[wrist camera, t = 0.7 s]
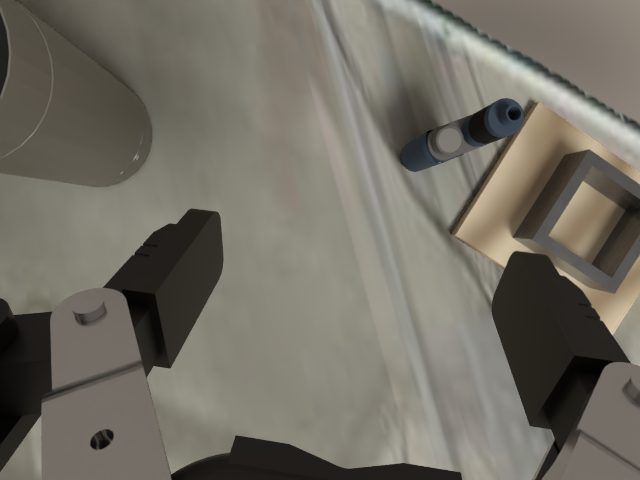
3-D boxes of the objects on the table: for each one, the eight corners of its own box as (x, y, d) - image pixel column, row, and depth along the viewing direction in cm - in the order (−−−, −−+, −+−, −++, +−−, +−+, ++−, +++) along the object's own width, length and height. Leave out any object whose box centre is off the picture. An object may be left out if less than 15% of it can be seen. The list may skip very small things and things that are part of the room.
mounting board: (450, 234, 36) (455, 235, 35) (532, 104, 36) (539, 101, 35) (603, 333, 38) (611, 336, 37) (682, 209, 38) (692, 209, 37)
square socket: (512, 237, 36) (532, 239, 33) (564, 154, 36) (589, 149, 33) (588, 287, 37) (614, 294, 34) (639, 206, 36) (670, 206, 33)
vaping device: (457, 156, 36) (539, 126, 24) (404, 176, 36) (460, 156, 24) (448, 129, 36) (526, 85, 24) (394, 149, 36) (446, 115, 24)
